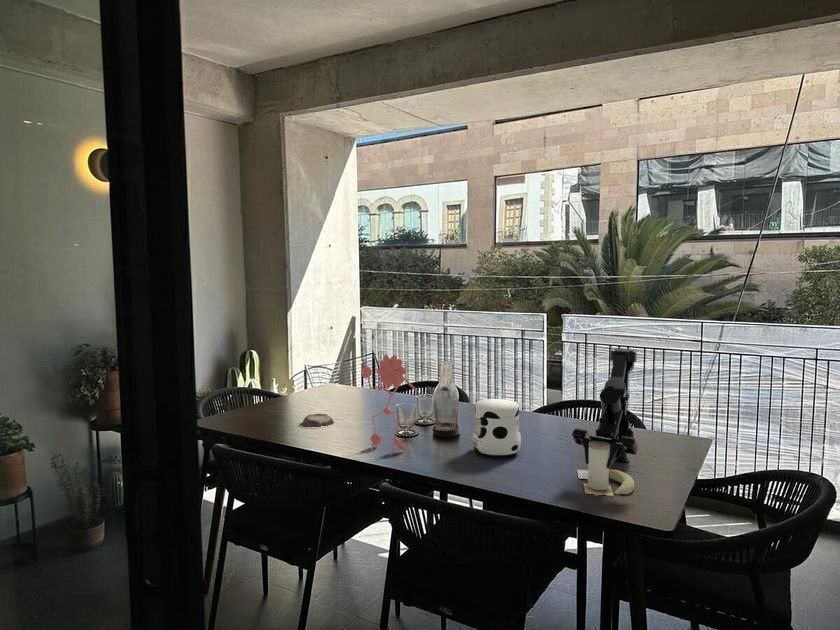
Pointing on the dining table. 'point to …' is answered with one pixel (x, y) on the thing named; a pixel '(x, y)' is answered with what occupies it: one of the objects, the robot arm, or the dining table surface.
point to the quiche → (317, 420)
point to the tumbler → (598, 465)
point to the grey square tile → (582, 474)
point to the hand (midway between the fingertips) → (597, 465)
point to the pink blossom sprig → (389, 375)
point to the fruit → (622, 481)
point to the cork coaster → (598, 491)
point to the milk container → (496, 428)
